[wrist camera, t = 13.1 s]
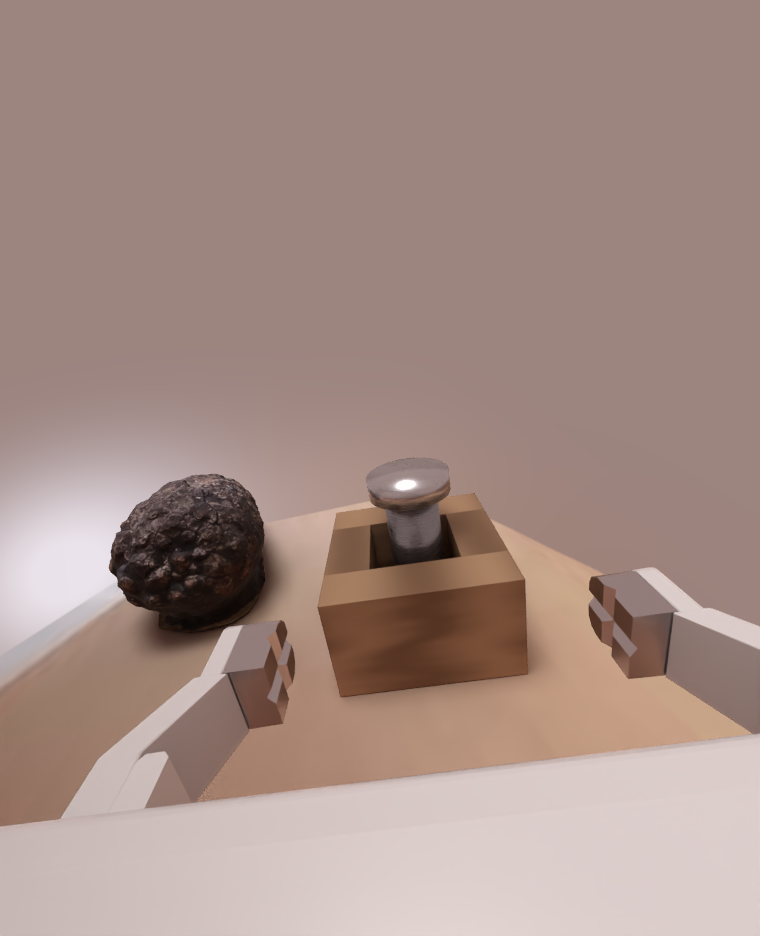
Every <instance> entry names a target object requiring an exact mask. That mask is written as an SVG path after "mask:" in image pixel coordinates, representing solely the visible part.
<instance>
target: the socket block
mask: <svg viewBox="0 0 760 936" xmlns="http://www.w3.org/2000/svg"><path fill="white" fill-rule="evenodd" d="M438 505H439V514H440V522H441V531H442V540H443V548H444V557H445V559H443V560H435V561H428V562H421V563H414V564H406V565H399V566H395V565H394V559H393V553H392V547H391V541H390V535H389V529H388V524H387V518H386V512H385V509H382V508H379V507H374V508H368V509H361V510H354V511H347V512H340V513H337V514H336V519H335V524H334V529H333V534H332V539H331V544H330V548H329V553H328V558H327V563H326V568H325V573H324V578H323V583H322V588H321V593H320V598H319V603H318V611H319V615H320V619H321V622H322V626H323V630H324V634H325V638H326V642H327V646H328V650H329V653H330V657H331V661H332V665H333V669H334V673H335V677H336V680H337V684H338V688H339V692H340V696H341V697H344V696H352V695H360V694H368V693H376V692H384V691H392V690H400V689H408V688H416V687H425V686H433V685H441V684H449V683H457V682H465V681H473V680H481V679H489V678H497V677H505V676H514V675H522V674H528V664H527V629H526V593H525V578H524V577H523V575H522V573H521V572H520V570H519V568H518V566H517V565H516V563H515V561H514V560H513V558H512V556H511V554H510V553H509V551H508V549H507V548H506V546H505V544H504V542H503V541H502V539H501V537H500V536H499V534H498V532H497V531H496V529H495V527H494V525H493V524H492V522H491V520H490V519H489V517H488V515H487V513H486V512H485V510H484V508H483V507H482V505H481V503H480V502H479V500H478V498H477V497H476V495H475V493H472V494H465V495H458V496H451V497H445V498H444V499H443V500H441V501H439V502H438Z"/></svg>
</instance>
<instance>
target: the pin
mask: <svg viewBox="0 0 760 936" xmlns="http://www.w3.org/2000/svg"><path fill="white" fill-rule="evenodd" d="M366 483H367V488H368V494H369V499H370V501H371V503H372V504H373V505H375V506H377V507H379V508H382V509H385V512H386V518H387V524H388V529H389V535H390V541H391V547H392V553H393V559H394V565H395V566H399V565H406V564H414V563H421V562H428V561H435V560H443V559H445V557H444V548H443V540H442V531H441V522H440V514H439V505H438V502H439V501H441V500H443V499H444V498H445V497H446V496H447V495H448V494H449V492H450V489H451V488H450V477H449V468H448V466H447V465H446V464H445V463H444V462H442V461H439V460H436V459H431V458H407V459H401V460H396V461H392V462H389V463H386V464H383V465H381V466H379V467H376V468H375V469H373V470H372V471H371V472H369V474H368V475H367V477H366Z"/></svg>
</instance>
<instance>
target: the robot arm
mask: <svg viewBox="0 0 760 936" xmlns="http://www.w3.org/2000/svg"><path fill="white" fill-rule="evenodd" d="M589 590H590V592H591V593H592V594H593V595H594V598H593V599H592V600H591V602H590V603H589V617H590V621H591V625H592V627H593V629H594V631H595V633H596V635H597V636H598V638H599V639H600V641H601V642H602V643H604V644H606V645H608V646H610V647H612V657H613V659H614V660H615V662H616V663H617V664H618V666H619V667H620V668H621V670H622V671H623V673H624V674H625V675H626V677H627V678H628V679H633V678H643V677H653V676H663V675H666V678H668V679H669V680H671V681H673V682H674V683H676V684H677V685H679V686H680V687H682V688H683V689H685V690H686V691H688V692H690V693H691V694H693V695H694V696H696V697H697V698H699V699H700V700H702V701H703V702H705V703H707V704H708V705H710V706H711V707H713V708H714V709H716V710H717V711H719V712H720V713H722V714H723V715H725V716H727V717H728V718H730V719H731V720H733V721H734V722H736V723H737V724H739V725H740V726H742V727H744V728H745V729H747V730H748V731H750V732H751V733H753V734H751V735H742V736H734V737H726V738H718V739H710V740H701V741H693V742H685V743H677V744H668V745H660V746H652V747H644V748H636V749H628V750H619V751H611V752H603V753H595V754H587V755H578V756H570V757H562V758H554V759H546V760H538V761H529V762H521V763H513V764H505V765H497V766H489V767H480V768H472V769H464V770H456V771H448V772H439V773H431V774H423V775H415V776H407V777H398V778H390V779H382V780H374V781H366V782H358V783H349V784H341V785H333V786H325V787H317V788H309V789H300V790H292V791H284V792H276V793H268V794H260V795H251V796H243V797H235V798H227V799H219V800H211V801H202V802H196V801H197V799H198V798H199V797H200V795H201V794H202V793H203V791H204V790H205V789H206V788H207V786H208V785H209V784H210V782H211V781H212V780H213V778H214V777H215V776H216V774H217V773H218V772H219V770H220V769H221V768H222V767H223V765H224V764H225V763H226V761H227V760H228V759H229V757H230V756H231V755H232V753H233V752H234V751H235V749H236V748H237V747H238V746H239V744H240V743H241V742H242V740H243V739H244V738H245V736H246V735H247V734H248V732H249V729H254V728H260V727H266V726H272V725H278V724H283V722H284V717H285V713H286V709H287V705H288V700H289V698H288V695H287V692H286V690H287V689H288V688H289V687H290V685H291V684H292V683H293V678H294V672H295V659H294V652H293V649H292V645H291V644H289V643H288V642H287V641H285V639H286V636H287V629H286V626H285V623H284V622H283V621H281V620H280V621H271V622H263V623H254V624H246V625H240V626H232V627H227V628H226V629H224V630H223V632H222V634H221V636H220V638H219V640H218V642H217V644H216V646H215V648H214V650H213V652H212V654H211V656H210V658H209V660H208V662H207V664H206V666H205V668H204V670H203V672H202V674H201V676H200V677H198V678H193V679H192V680H191V681H190V682H189V683H188V684H186V685H185V686H184V687H183V688H182V689H180V690H179V691H178V692H177V693H176V694H174V695H173V696H172V697H171V698H170V699H168V700H167V701H166V702H165V703H164V704H163V705H161V706H160V707H159V708H158V709H157V710H155V711H154V712H153V713H152V714H151V715H149V716H148V717H147V718H146V719H145V720H144V721H142V722H141V723H140V724H139V725H138V726H136V727H135V728H134V729H133V730H132V731H130V732H129V733H128V734H127V735H126V736H124V737H123V738H122V739H121V740H120V741H119V742H117V743H116V744H115V745H114V746H113V747H111V748H110V749H109V750H108V751H107V752H105V753H104V754H103V755H102V756H101V757H100V758H99V759H98V760H97V762H96V763H95V765H94V767H93V768H92V770H91V771H90V773H89V774H88V776H87V778H86V779H85V781H84V782H83V784H82V785H81V787H80V788H79V790H78V792H77V793H76V795H75V796H74V798H73V799H72V801H71V803H70V804H69V806H68V807H67V809H66V810H65V812H64V813H63V815H62V817H61V818H60V819H56V820H48V821H40V822H31V823H23V824H15V825H7V826H0V936H760V627H759V626H757V625H754V624H752V623H749V622H746V621H743V620H741V619H738V618H736V617H733V616H730V615H728V614H725V613H722V612H720V611H717V610H714V609H712V608H705V609H703V608H702V607H701V606H700V605H699V604H697V603H696V602H695V601H694V600H693V599H691V598H690V597H689V596H688V595H687V594H685V593H684V592H683V591H682V590H681V589H680V588H679V587H677V586H676V585H675V584H674V583H673V582H672V581H670V580H669V579H668V578H667V577H666V576H664V575H663V574H662V573H661V572H660V571H659V570H657V569H655V568H652V567H649V568H643V569H637V570H631V571H627V572H621V573H614V574H607V575H600V576H593V577H591V579H590V582H589Z"/></svg>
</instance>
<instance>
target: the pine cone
mask: <svg viewBox="0 0 760 936" xmlns="http://www.w3.org/2000/svg"><path fill="white" fill-rule="evenodd" d="M263 524H264V523H263V521H262V519H261V517H260V513H259V511H258V507H257V505H256V503H255V500H254V498H253V497H252V495H251V494H250V492H249V491H248V490H246V489H245V488H244V487H243V486H242V485H241V484H240V483H239V482H236V481H235V480H234V479H229V478H228V479H227V478H224V476H222V475H218V474H209V475H194V476H193V475H192V476H190V477H187V478H184V479H182V480H177V481H173V482H169V483H167V484H166V485H164V486H163V487H162V488H161V489H160V490H159V491H157V492H156V493H154V494H153V495H152V496H151V497H150V498H149V499H148V500H146V501H144V502H141V503H139V504H138V505H136V507H135V508H134V510H133V511H132V512H131V514H130V516H129V517H128V519H127V520H126V521H124V522H123V523H122V524H121V526H120V527H121V531H120V532H118V533H116V538H115V540H114V542H113V544H112V550H111V557H112V558H111V560H110V564H109V570H110V572H111V573H112V574H114V575H115V576H116V577H117V579H118V587H119V588H121V589H122V590H123V594H125V596H126V598H127V601H129V602H130V603H131V604H133V605H135V606H137V607H143V608H145V609H148V610H153V611H158V612H160V614H159V623H158V625H159V628H160V629H166V630H173V631H182V632H196V631H200V630H205V629H209V628H213V627H218V626H221V625H224V624H228V623H231V622H234V621H235V620H237V619H238V618H240V617H242V616H243V615H245V614H247V613H248V612H249V610H250V609H251V607H252V606H253V605H254V603H255V602H256V601H257V599H258V597H259V595H260V592H261V590H262V587H263V584H264V582H265V572H264V559H263V554H262V552H261V551H262V548H263V544H264V530H263Z"/></svg>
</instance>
